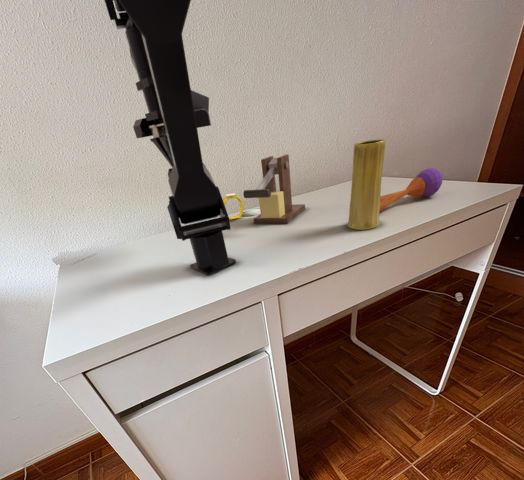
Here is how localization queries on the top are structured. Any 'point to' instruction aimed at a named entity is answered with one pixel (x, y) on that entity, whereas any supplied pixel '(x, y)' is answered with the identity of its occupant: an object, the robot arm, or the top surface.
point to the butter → (272, 205)
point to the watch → (239, 202)
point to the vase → (366, 184)
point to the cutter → (284, 185)
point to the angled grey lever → (263, 182)
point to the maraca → (416, 187)
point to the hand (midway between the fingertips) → (183, 178)
